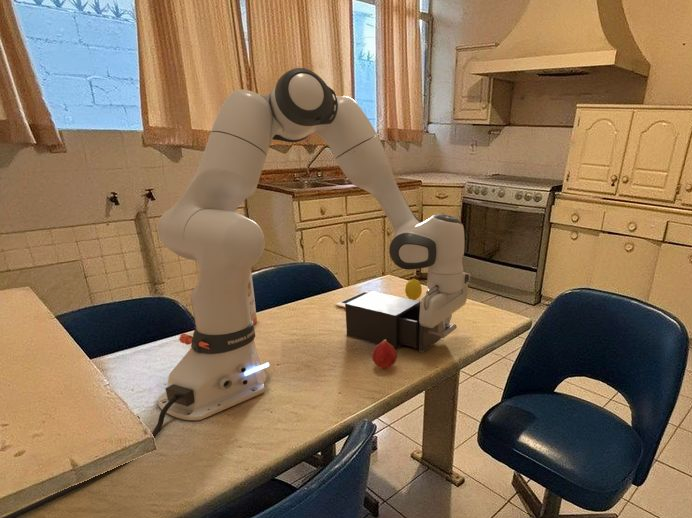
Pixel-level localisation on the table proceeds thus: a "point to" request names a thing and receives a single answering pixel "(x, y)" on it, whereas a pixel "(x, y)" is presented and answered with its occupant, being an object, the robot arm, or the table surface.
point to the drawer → (418, 331)
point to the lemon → (413, 289)
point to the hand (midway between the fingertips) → (443, 331)
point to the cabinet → (377, 317)
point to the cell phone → (350, 299)
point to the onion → (384, 355)
